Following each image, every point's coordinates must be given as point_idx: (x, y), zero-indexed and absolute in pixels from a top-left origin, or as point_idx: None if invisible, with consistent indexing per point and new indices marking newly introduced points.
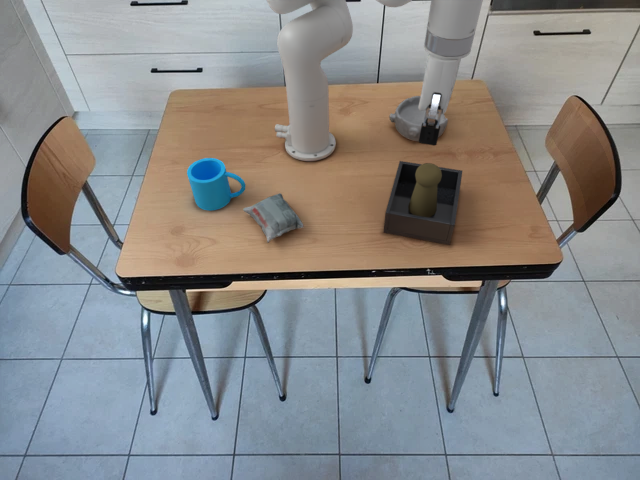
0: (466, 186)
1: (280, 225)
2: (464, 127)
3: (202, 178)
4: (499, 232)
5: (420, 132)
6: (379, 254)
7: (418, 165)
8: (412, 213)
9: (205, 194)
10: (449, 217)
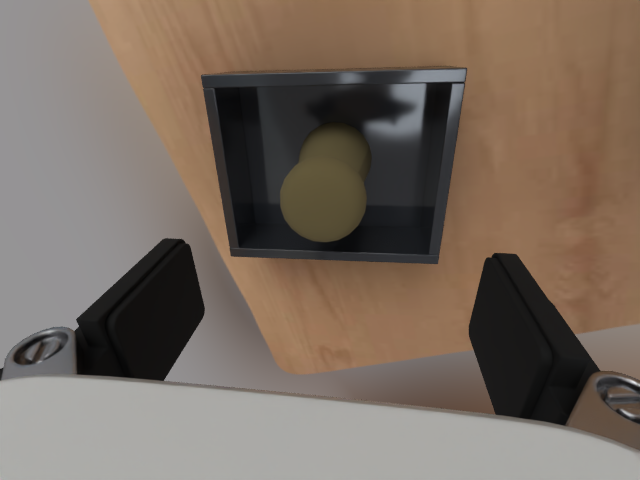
0: (446, 248)
1: None
2: None
3: None
4: (317, 306)
5: (124, 275)
6: (163, 78)
7: (446, 140)
8: (306, 138)
9: None
10: None
